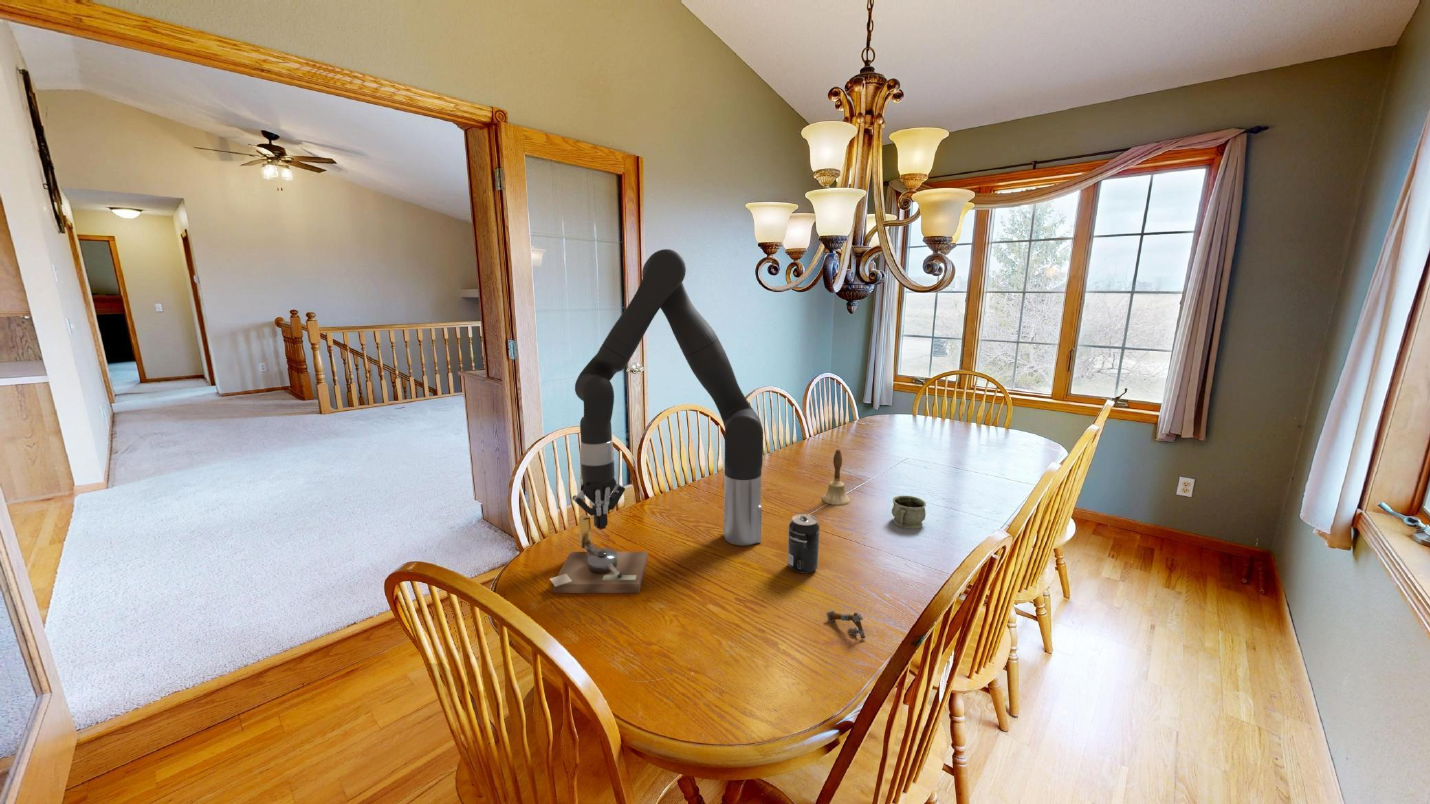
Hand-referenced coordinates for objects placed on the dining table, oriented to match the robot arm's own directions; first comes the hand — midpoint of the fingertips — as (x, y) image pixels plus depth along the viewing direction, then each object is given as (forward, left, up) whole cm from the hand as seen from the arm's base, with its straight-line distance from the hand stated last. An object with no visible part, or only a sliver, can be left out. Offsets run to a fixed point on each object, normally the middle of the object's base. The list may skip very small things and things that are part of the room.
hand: (600, 528), depth 125 cm
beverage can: (-47, +7, -7) cm, 48 cm away
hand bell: (-64, -33, -7) cm, 73 cm away
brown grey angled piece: (-52, +29, -7) cm, 60 cm away
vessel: (-80, -17, -7) cm, 82 cm away
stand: (-2, +10, -7) cm, 12 cm away
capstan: (-1, +8, -4) cm, 10 cm away
